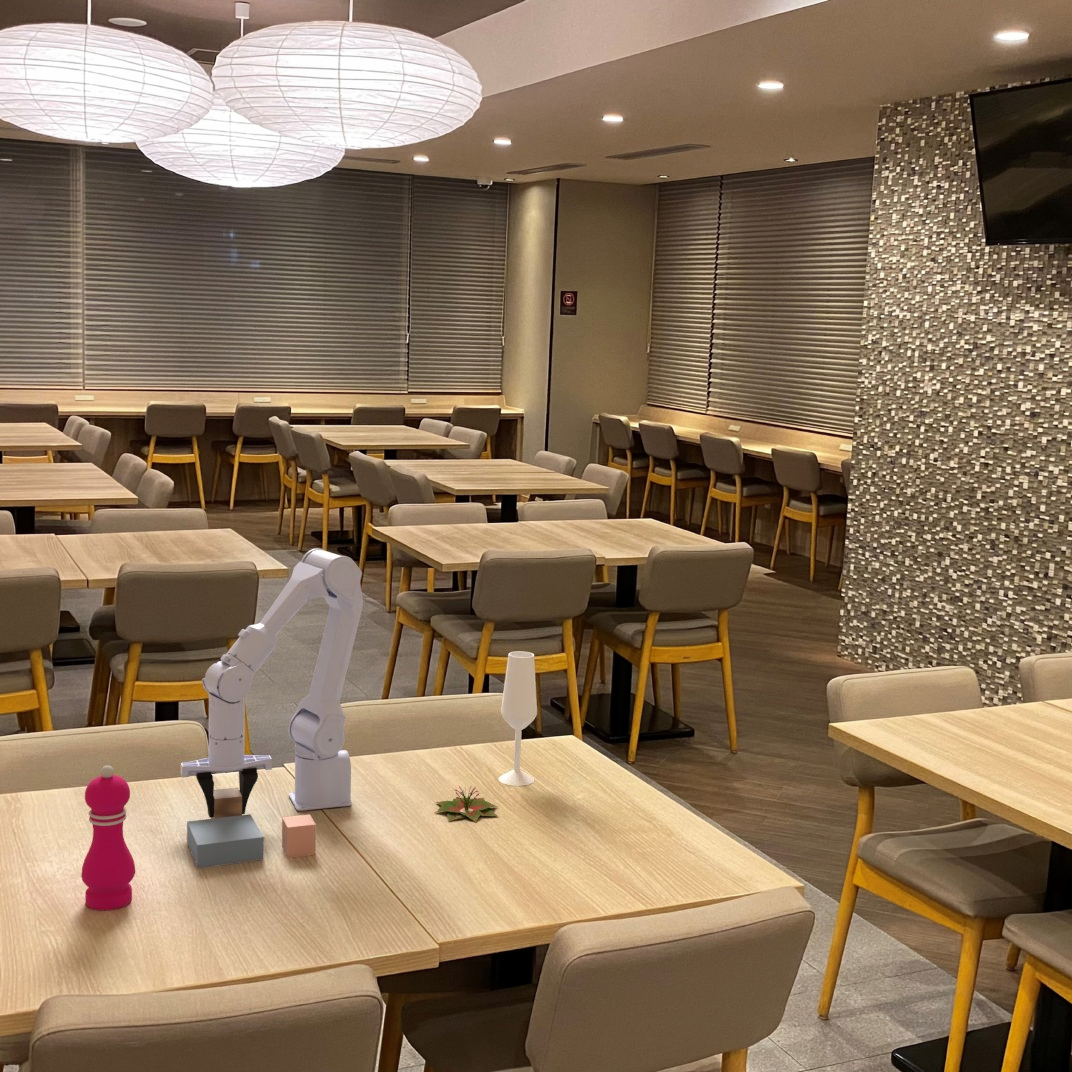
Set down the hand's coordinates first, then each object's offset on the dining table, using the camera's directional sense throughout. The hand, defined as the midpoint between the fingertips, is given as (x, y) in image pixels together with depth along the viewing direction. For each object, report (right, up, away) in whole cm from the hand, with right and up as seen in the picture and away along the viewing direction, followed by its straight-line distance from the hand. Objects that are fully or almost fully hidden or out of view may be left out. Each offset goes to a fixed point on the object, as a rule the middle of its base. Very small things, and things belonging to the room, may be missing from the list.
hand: (226, 813), depth 208 cm
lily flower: (+39, -2, +10) cm, 41 cm away
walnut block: (0, -1, 0) cm, 1 cm away
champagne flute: (+48, 0, +26) cm, 54 cm away
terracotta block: (+14, -4, -10) cm, 18 cm away
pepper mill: (-9, -6, -30) cm, 32 cm away
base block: (+3, -4, -11) cm, 12 cm away
